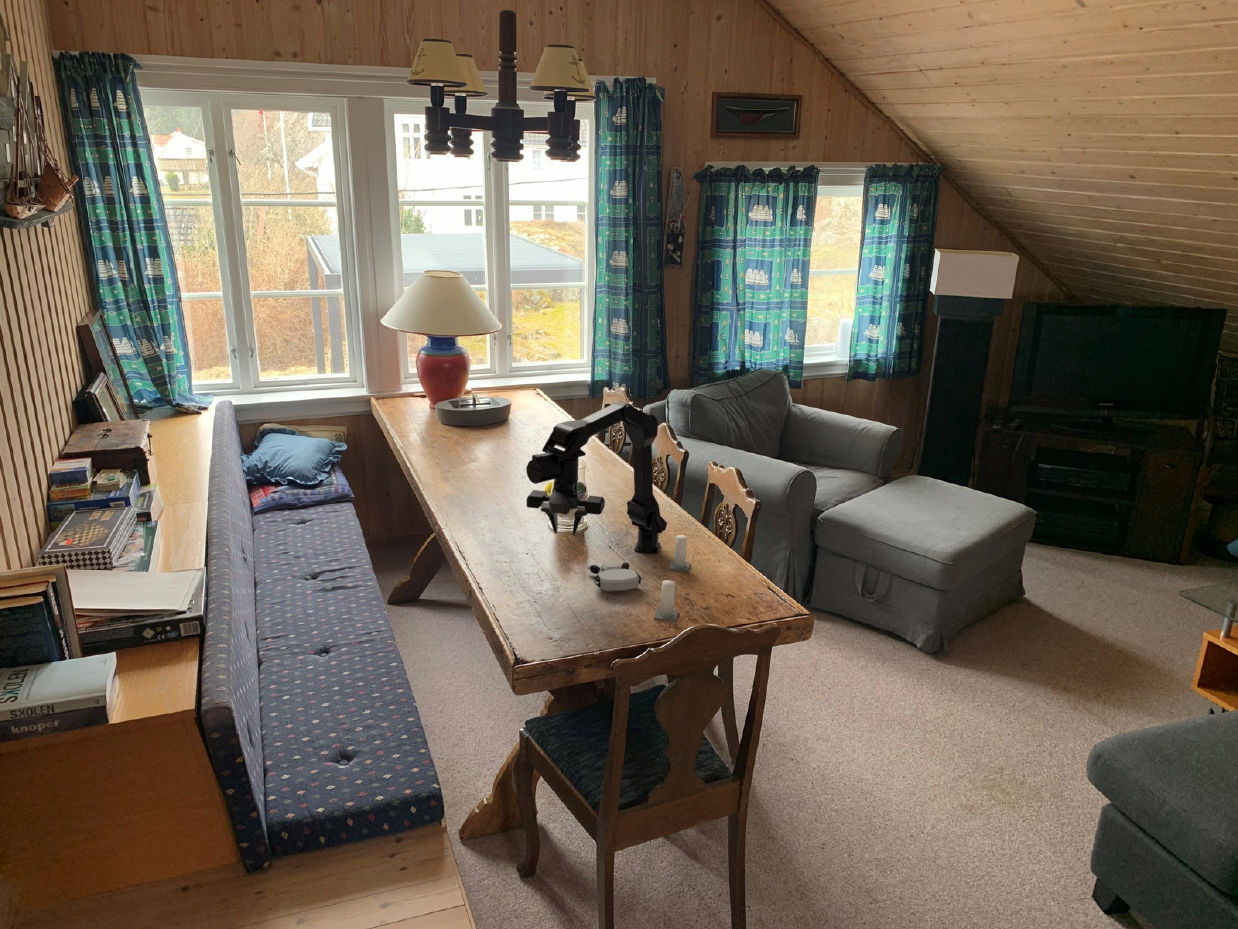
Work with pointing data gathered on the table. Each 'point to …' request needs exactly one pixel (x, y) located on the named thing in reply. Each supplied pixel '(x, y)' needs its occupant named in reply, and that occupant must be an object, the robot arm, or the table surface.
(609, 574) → the robot toy
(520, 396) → the table surface
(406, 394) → the table surface
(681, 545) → the pair of white pegs
